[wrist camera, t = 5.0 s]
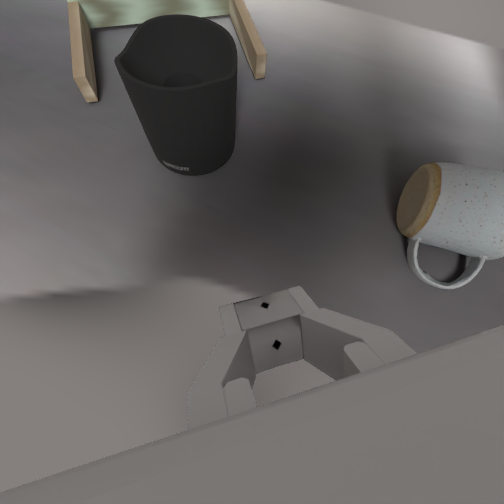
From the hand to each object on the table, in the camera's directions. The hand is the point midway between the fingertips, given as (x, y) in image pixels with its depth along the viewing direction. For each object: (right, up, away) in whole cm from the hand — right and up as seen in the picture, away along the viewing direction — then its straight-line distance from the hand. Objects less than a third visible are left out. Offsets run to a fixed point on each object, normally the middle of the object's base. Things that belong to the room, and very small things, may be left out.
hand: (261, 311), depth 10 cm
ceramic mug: (+18, +3, +18) cm, 26 cm away
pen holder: (-7, +14, +21) cm, 26 cm away
